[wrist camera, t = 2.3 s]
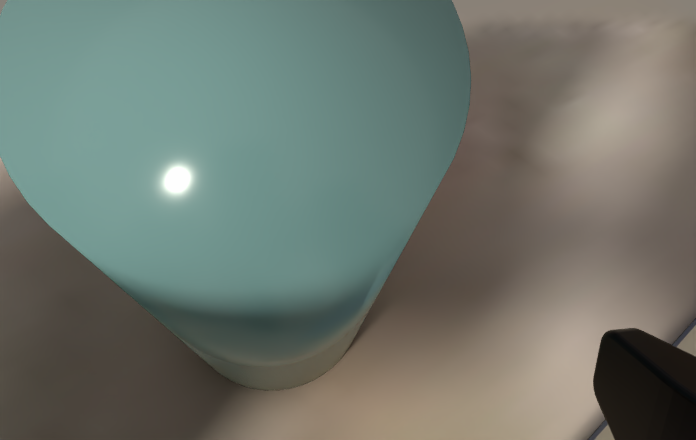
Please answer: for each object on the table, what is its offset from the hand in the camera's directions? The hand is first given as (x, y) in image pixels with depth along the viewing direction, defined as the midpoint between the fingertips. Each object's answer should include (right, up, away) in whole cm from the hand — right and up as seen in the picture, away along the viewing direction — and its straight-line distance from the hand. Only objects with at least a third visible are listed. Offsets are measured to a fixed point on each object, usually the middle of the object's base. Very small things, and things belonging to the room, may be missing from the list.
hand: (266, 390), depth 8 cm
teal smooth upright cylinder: (-1, 0, +11) cm, 11 cm away
